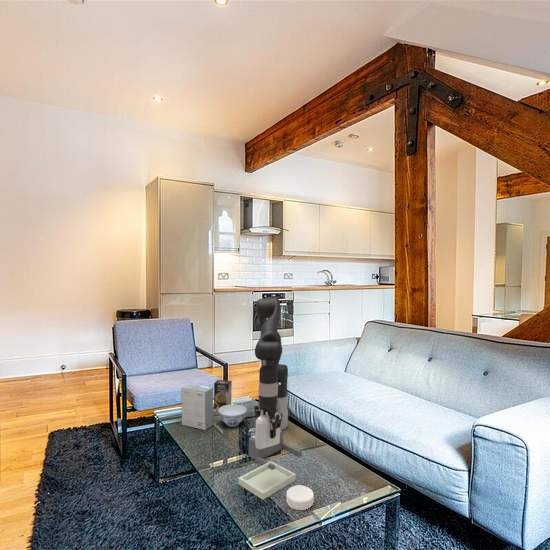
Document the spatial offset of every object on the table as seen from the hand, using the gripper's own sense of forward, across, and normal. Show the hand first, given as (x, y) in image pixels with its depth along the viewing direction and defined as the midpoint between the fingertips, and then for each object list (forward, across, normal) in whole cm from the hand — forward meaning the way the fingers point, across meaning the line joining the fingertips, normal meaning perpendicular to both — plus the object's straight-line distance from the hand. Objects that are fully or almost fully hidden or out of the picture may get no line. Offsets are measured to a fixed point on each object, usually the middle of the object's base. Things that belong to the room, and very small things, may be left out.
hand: (267, 435), depth 149 cm
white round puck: (+19, -17, 0) cm, 26 cm away
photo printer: (+4, 0, 0) cm, 4 cm away
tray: (+19, 0, 0) cm, 19 cm away
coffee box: (+19, +71, -33) cm, 80 cm away
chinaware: (+19, +51, -24) cm, 59 cm away
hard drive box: (+19, +63, -10) cm, 66 cm away
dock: (+19, +12, -16) cm, 27 cm away
